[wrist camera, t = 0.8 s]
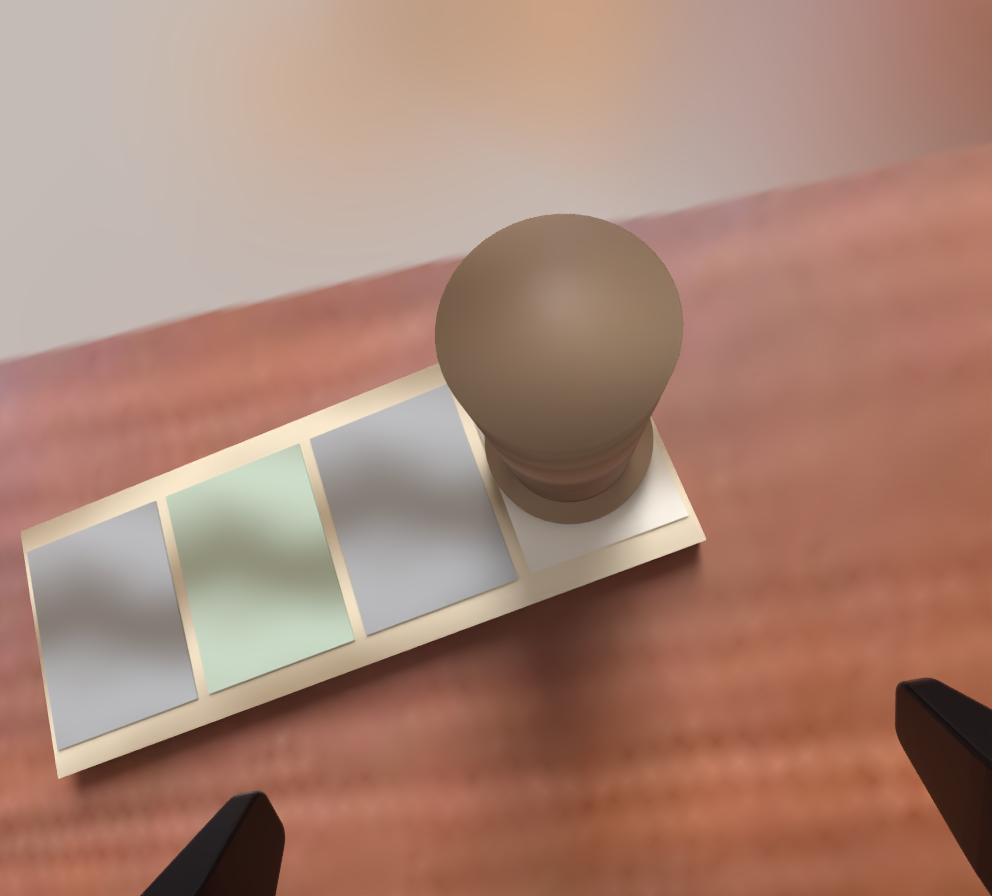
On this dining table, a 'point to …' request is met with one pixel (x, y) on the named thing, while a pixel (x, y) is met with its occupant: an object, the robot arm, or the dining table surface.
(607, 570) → the board
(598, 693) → the dining table surface
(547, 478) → the pawn
